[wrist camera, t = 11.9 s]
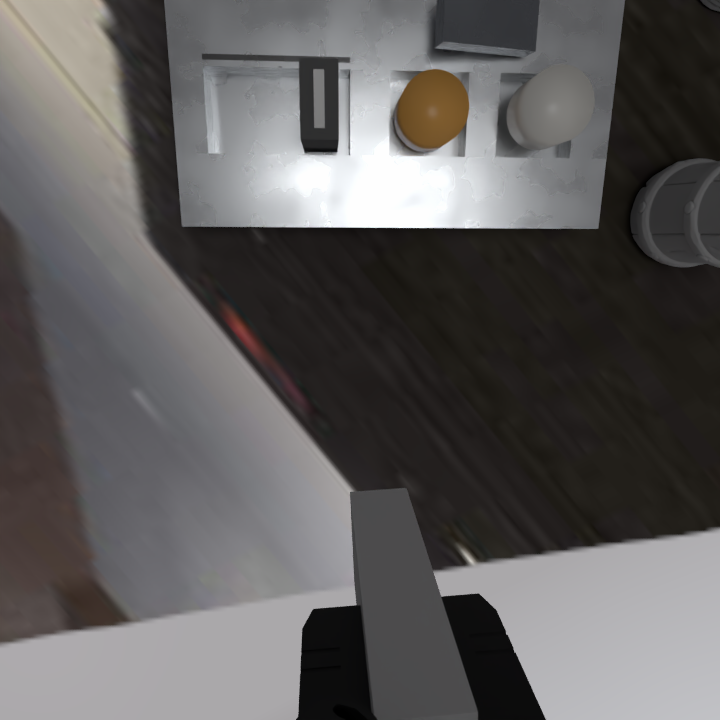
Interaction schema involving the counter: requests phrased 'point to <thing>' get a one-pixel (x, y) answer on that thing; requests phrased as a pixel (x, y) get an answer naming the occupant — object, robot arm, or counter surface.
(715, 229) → the mug
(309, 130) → the slider knob
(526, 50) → the block
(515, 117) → the cream button
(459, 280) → the counter surface
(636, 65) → the counter surface
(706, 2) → the pill bottle
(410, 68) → the panel
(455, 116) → the orange button
